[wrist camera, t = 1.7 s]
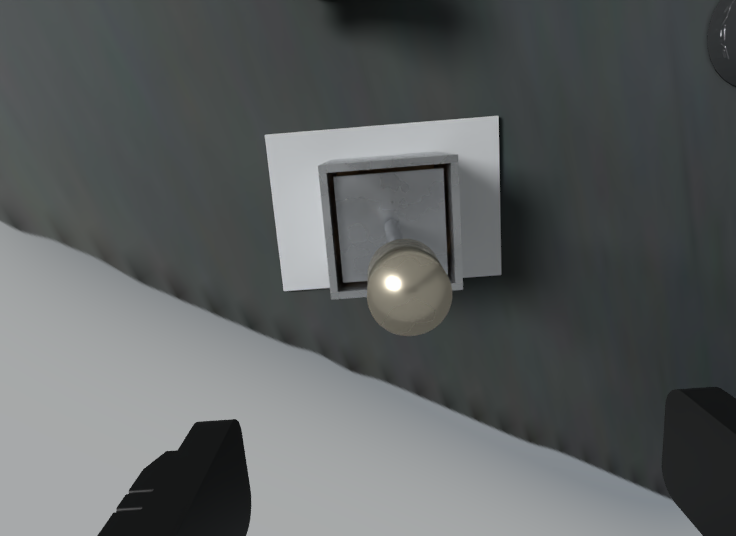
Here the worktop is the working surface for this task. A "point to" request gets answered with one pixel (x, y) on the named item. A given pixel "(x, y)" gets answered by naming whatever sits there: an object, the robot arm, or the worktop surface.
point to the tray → (311, 148)
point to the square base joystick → (379, 166)
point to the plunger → (396, 245)
